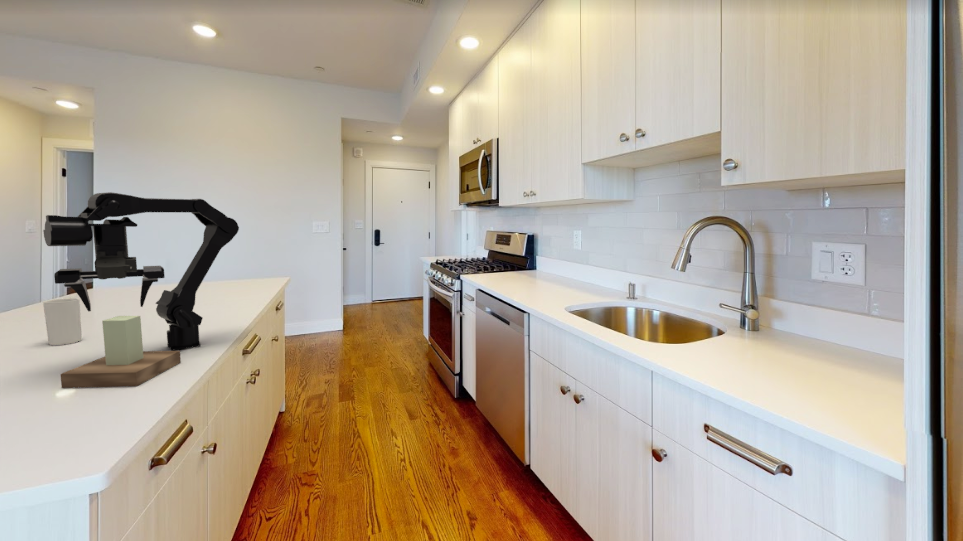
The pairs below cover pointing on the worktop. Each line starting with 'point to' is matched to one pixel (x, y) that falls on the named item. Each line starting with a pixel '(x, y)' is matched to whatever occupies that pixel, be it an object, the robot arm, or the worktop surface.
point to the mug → (63, 321)
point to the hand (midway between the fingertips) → (116, 308)
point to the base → (120, 371)
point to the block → (122, 340)
